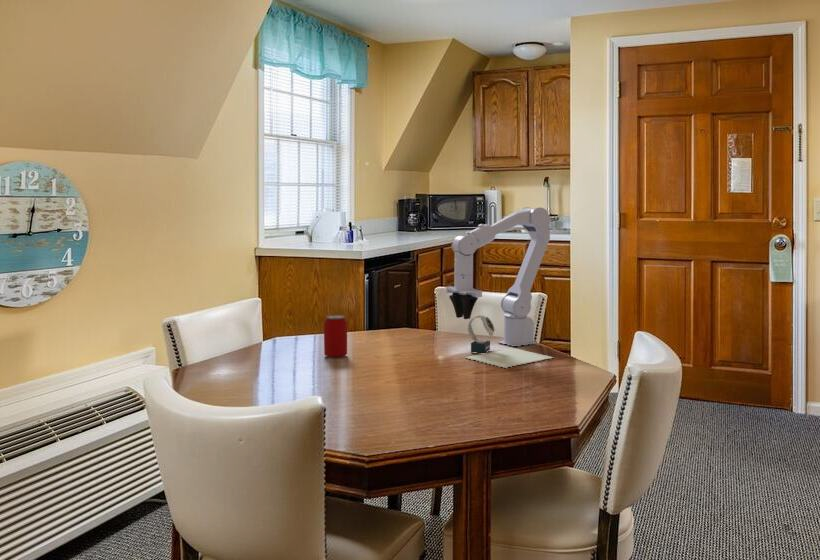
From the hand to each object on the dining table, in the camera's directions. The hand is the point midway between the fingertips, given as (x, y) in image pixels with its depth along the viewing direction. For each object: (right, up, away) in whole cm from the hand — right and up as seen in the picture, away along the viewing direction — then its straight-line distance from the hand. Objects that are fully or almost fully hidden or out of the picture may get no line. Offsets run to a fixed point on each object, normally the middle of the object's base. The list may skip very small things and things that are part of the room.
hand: (463, 318), depth 229 cm
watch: (+5, -10, -5) cm, 12 cm away
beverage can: (-38, -11, -11) cm, 42 cm away
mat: (+12, -11, -15) cm, 22 cm away
